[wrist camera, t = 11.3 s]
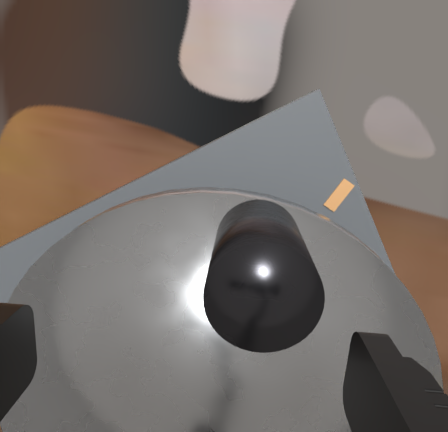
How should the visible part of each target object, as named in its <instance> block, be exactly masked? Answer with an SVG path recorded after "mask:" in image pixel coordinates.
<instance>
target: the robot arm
mask: <svg viewBox="0 0 448 432" xmlns="http://www.w3.org/2000/svg"><path fill="white" fill-rule="evenodd" d="M36 366H37V350H36V338H35V325H34V314H33V310H32V308H31V307H30V306H29V305H24V304H12V303H0V422H1V421H2V419H3V418H4V417H5V415H6V414H7V413H8V412H9V410H10V409H11V408H12V407H13V405H14V404H15V403H16V401H17V400H18V399H19V398H20V396H21V395H22V394H23V392H24V391H25V390H26V389H27V387H28V386H29V385H30V383H31V381H32V379H33V377H34V374H35V371H36ZM343 405H344V410H345V414H346V417H347V420H348V423H349V426H350V429H351V432H448V396H447V395H446V394H444V393H443V389H442V388H441V386H440V385H439V384H438V382H437V381H436V379H435V378H434V377H433V375H432V374H431V373H430V372H429V371H428V370H427V369H425V368H424V367H423V366H421V365H420V364H419V363H418V362H416V361H415V360H414V359H413V358H411V357H403V356H402V355H401V353H400V352H399V350H398V349H397V347H396V346H395V344H394V343H393V341H392V339H391V338H390V337H389V335H387V334H380V333H368V332H354V333H353V335H352V338H351V342H350V348H349V354H348V359H347V365H346V371H345V377H344V383H343Z"/></svg>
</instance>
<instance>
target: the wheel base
mask: <svg viewBox="0 0 448 432" xmlns="http://www.w3.org/2000/svg"><path fill="white" fill-rule="evenodd" d="M196 187H215V188H236V189H241V190H247V191H253V192H259V193H264V194H269V195H272V196H275V197H278V198H282V199H285V200H288V201H291V202H294V203H298V204H300V205H302V206H304V207H306V208H308V209H311V210H313V211H315V212H317V213H319V214H321V215H324V216H326V217H327V218H329V219H331V220H332V221H334V222H335V223H337V224H338V225H340V226H342V227H343V228H345V229H346V230H348V231H350V232H351V233H353V234H354V235H355V236H356V237H357V238H358V239H360V240H361V241H362V242H363V243H364V244H366V245H367V246H368V247H369V248H370V249H371V250H373V251H374V252H375V253H376V254H377V255H378V256H379V257H380V259H381V260H382V261H383V262H384V263H385V264H386V265H387V266H388V267H389V269H390V270H391V271H392V272H393V273H394V270H393V268H392V266H391V263H390V261H389V258H388V256H387V253H386V251H385V248H384V246H383V243H382V241H381V239H380V236H379V234H378V231H377V229H376V226H375V224H374V221H373V219H372V217H371V214H370V212H369V209H368V207H367V204H366V202H365V199H364V197H363V194H362V192H361V190H360V187H359V185H358V182H357V180H356V178H355V175H354V172H353V170H352V168H351V165H350V163H349V160H348V158H347V155H346V153H345V151H344V148H343V146H342V143H341V140H340V138H339V136H338V133H337V131H336V128H335V126H334V123H333V121H332V119H331V116H330V114H329V111H328V109H327V106H326V104H325V101H324V99H323V96H322V94H321V92H320V90H319V89H318V90H315V91H312V92H310V93H308V94H306V95H304V96H302V97H300V98H298V99H296V100H294V101H292V102H290V103H288V104H286V105H284V106H282V107H280V108H278V109H276V110H274V111H272V112H270V113H268V114H266V115H264V116H262V117H260V118H258V119H256V120H254V121H252V122H250V123H248V124H246V125H244V126H242V127H240V128H238V129H236V130H234V131H232V132H230V133H228V134H226V135H224V136H222V137H220V138H218V139H216V140H214V141H212V142H210V143H208V144H206V145H204V146H202V147H200V148H198V149H196V150H194V151H192V152H190V153H188V154H186V155H184V156H182V157H180V158H178V159H176V160H174V161H172V162H170V163H168V164H166V165H164V166H162V167H160V168H158V169H156V170H154V171H152V172H150V173H148V174H146V175H144V176H142V177H140V178H138V179H136V180H134V181H132V182H130V183H128V184H126V185H124V186H122V187H120V188H118V189H116V190H114V191H112V192H110V193H108V194H106V195H104V196H102V197H100V198H98V199H96V200H94V201H91V202H89V203H87V204H85V205H83V206H81V207H79V208H77V209H75V210H73V211H71V212H69V213H67V214H65V215H63V216H61V217H59V218H57V219H55V220H53V221H51V222H49V223H47V224H45V225H43V226H41V227H39V228H37V229H35V230H33V231H31V232H29V233H27V234H25V235H23V236H21V237H19V238H17V239H15V240H13V241H11V242H9V243H7V244H5V245H3V246H1V247H0V303H8V301H9V299H10V297H11V295H12V293H13V291H14V289H15V288H16V286H17V285H18V283H19V282H20V281H21V279H22V278H23V277H24V275H25V274H26V272H27V271H28V270H29V268H30V267H31V266H32V265H33V264H34V263H35V262H36V261H37V260H38V259H39V258H40V257H41V256H42V255H43V254H44V253H45V252H46V251H47V250H48V249H49V248H50V247H51V246H52V245H54V244H55V243H56V242H58V241H59V240H60V239H62V238H63V237H64V236H66V235H67V234H69V233H70V232H71V231H73V230H74V229H75V228H77V227H78V226H80V225H81V224H83V223H84V222H85V221H87V220H89V219H91V218H92V217H94V216H96V215H98V214H100V213H102V212H104V211H105V210H107V209H109V208H111V207H113V206H116V205H119V204H121V203H124V202H127V201H129V200H132V199H135V198H138V197H140V196H145V195H149V194H154V193H158V192H163V191H167V190H173V189H185V188H196ZM394 274H395V273H394Z"/></svg>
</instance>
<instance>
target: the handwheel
mask: <svg viewBox="0 0 448 432" xmlns="http://www.w3.org/2000/svg"><path fill="white" fill-rule="evenodd" d="M8 303H12V304H24V305H29V306H30V307H31V308H32V310H33V314H34V325H35V338H36V350H37V366H36V371H35V374H34V377H33V379H32V381H31V383H30V385H29V386H28V387H27V389H26V390H25V391H24V392H23V394H22V395H21V396H20V398H19V399H18V400H17V401H16V403H15V404H14V405H13V407H12V408H11V409H10V410H9V412H8V413H7V414H6V415H5V417H4V418H3V419H2V421H1V422H0V426H1V429H2V432H351V429H350V426H349V423H348V420H347V417H346V414H345V410H344V405H343V383H344V377H345V371H346V365H347V359H348V354H349V348H350V342H351V338H352V335H353V333H354V332H368V333H380V334H387V335H389V337H390V338H391V339H392V341H393V343H394V344H395V346H396V347H397V349H398V350H399V352H400V353H401V355H402V356H403V357H411V358H413V359H414V360H415V361H416V362H418V363H419V364H420V365H421V366H423V367H424V368H425V369H427V370H428V371H429V372H430V373H431V374H432V375H433V377H434V378H435V379H436V381H437V382H438V384H439V385H440V386H441V388H442V389H443V383H442V372H441V364H440V360H439V356H438V352H437V349H436V345H435V341H434V338H433V335H432V333H431V331H430V329H429V326H428V324H427V322H426V320H425V317H424V315H423V313H422V311H421V310H420V308H419V307H418V305H417V303H416V302H415V300H414V299H413V297H412V296H411V294H410V293H409V291H408V290H407V288H406V287H405V286H404V284H403V283H402V282H401V281H400V280H399V279H398V278H397V276H396V275H395V274H394V273H393V272H392V271H391V270H390V269H389V267H388V266H387V265H386V264H385V263H384V262H383V261H382V260H381V259H380V257H379V256H378V255H377V254H376V253H375V252H374V251H373V250H371V249H370V248H369V247H368V246H367V245H366V244H364V243H363V242H362V241H361V240H360V239H358V238H357V237H356V236H355V235H354V234H353V233H351V232H350V231H348V230H346V229H345V228H343V227H342V226H340V225H338V224H337V223H335V222H334V221H332V220H331V219H329V218H327V217H326V216H324V215H321V214H319V213H317V212H315V211H313V210H311V209H308V208H306V207H304V206H302V205H300V204H298V203H294V202H291V201H288V200H285V199H282V198H278V197H275V196H272V195H269V194H264V193H259V192H253V191H247V190H241V189H236V188H215V187H196V188H185V189H173V190H167V191H163V192H158V193H154V194H149V195H145V196H140V197H138V198H135V199H132V200H129V201H127V202H124V203H121V204H119V205H116V206H113V207H111V208H109V209H107V210H105V211H104V212H102V213H100V214H98V215H96V216H94V217H92V218H91V219H89V220H87V221H85V222H84V223H83V224H81V225H80V226H78V227H77V228H75V229H74V230H73V231H71V232H70V233H69V234H67V235H66V236H64V237H63V238H62V239H60V240H59V241H58V242H56V243H55V244H54V245H52V246H51V247H50V248H49V249H48V250H47V251H46V252H45V253H44V254H43V255H42V256H41V257H40V258H39V259H38V260H37V261H36V262H35V263H34V264H33V265H32V266H31V267H30V268H29V270H28V271H27V272H26V274H25V275H24V277H23V278H22V279H21V281H20V282H19V283H18V285H17V286H16V288H15V289H14V291H13V293H12V295H11V297H10V299H9V301H8Z"/></svg>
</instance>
